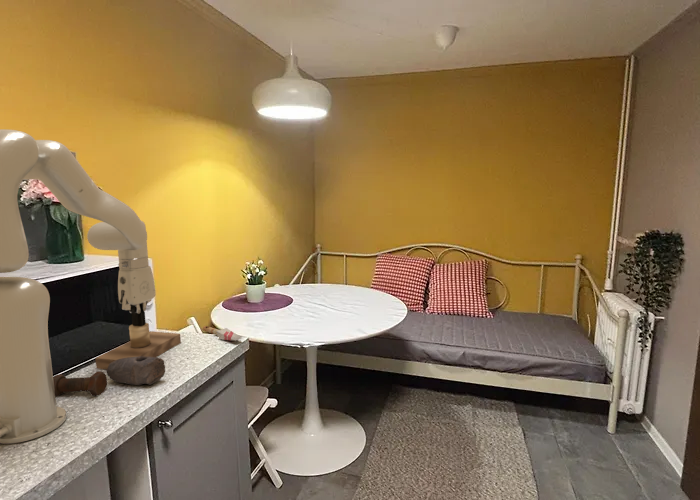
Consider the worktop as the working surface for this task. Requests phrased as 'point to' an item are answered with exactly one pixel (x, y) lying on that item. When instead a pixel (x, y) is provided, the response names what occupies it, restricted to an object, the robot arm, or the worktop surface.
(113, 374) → the perforated stone tool
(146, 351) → the board
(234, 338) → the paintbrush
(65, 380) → the bolt
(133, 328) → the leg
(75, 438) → the worktop surface
